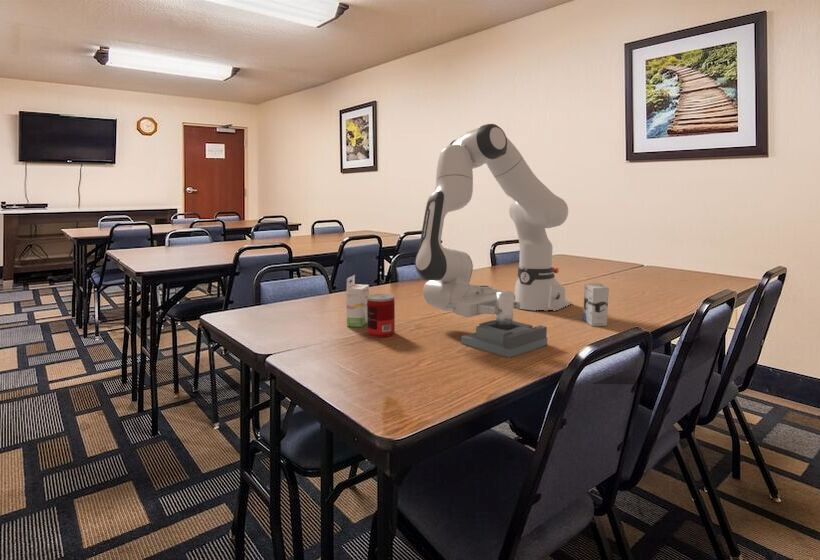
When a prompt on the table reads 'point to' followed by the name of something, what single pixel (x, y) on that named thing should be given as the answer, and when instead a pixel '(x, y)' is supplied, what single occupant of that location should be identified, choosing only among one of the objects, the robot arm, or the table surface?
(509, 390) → the table surface
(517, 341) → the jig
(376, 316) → the canned food
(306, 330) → the table surface
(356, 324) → the ink box
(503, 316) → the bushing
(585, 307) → the ink box
